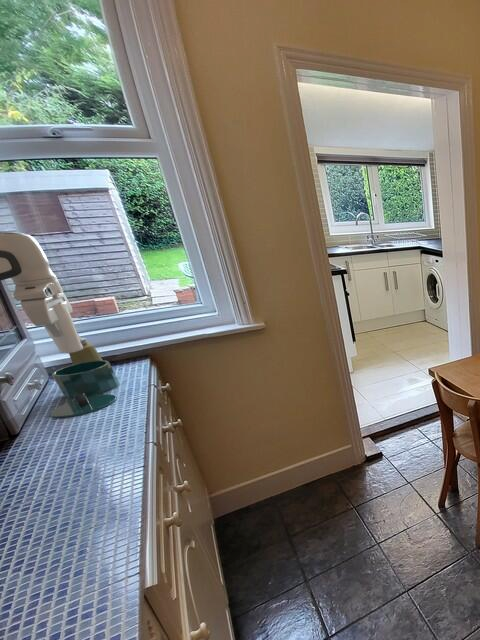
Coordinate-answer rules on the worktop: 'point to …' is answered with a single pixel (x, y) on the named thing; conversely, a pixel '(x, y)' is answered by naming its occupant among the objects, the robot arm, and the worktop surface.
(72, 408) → the lid
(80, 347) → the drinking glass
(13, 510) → the worktop surface
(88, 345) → the squeeze bottle
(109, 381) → the pot
